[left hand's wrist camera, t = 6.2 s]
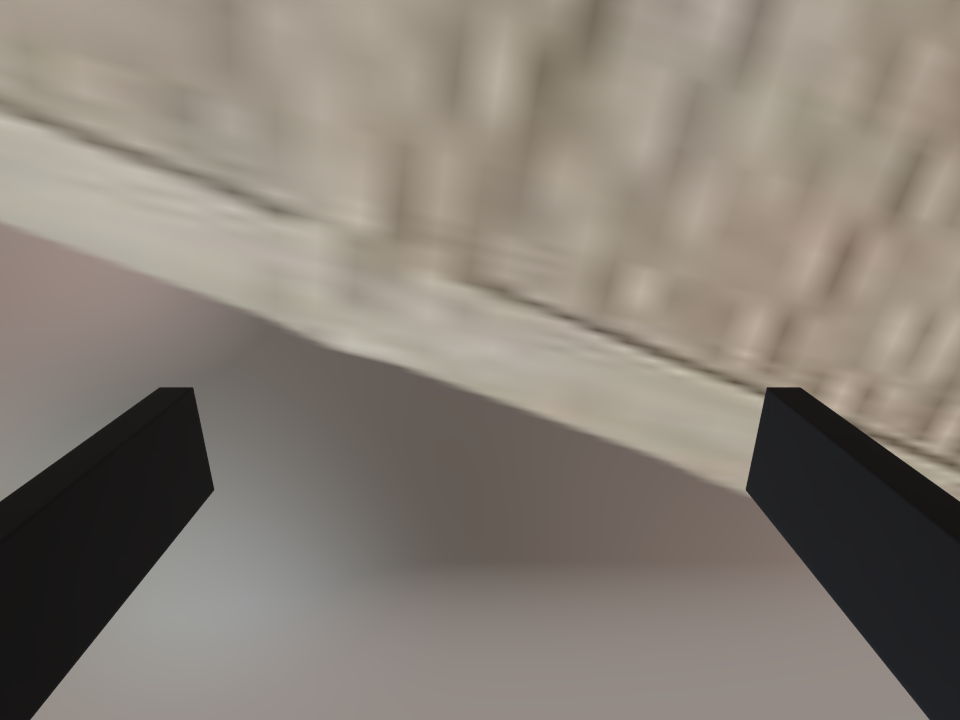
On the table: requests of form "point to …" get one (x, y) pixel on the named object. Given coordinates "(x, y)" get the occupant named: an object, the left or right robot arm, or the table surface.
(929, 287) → the table surface
